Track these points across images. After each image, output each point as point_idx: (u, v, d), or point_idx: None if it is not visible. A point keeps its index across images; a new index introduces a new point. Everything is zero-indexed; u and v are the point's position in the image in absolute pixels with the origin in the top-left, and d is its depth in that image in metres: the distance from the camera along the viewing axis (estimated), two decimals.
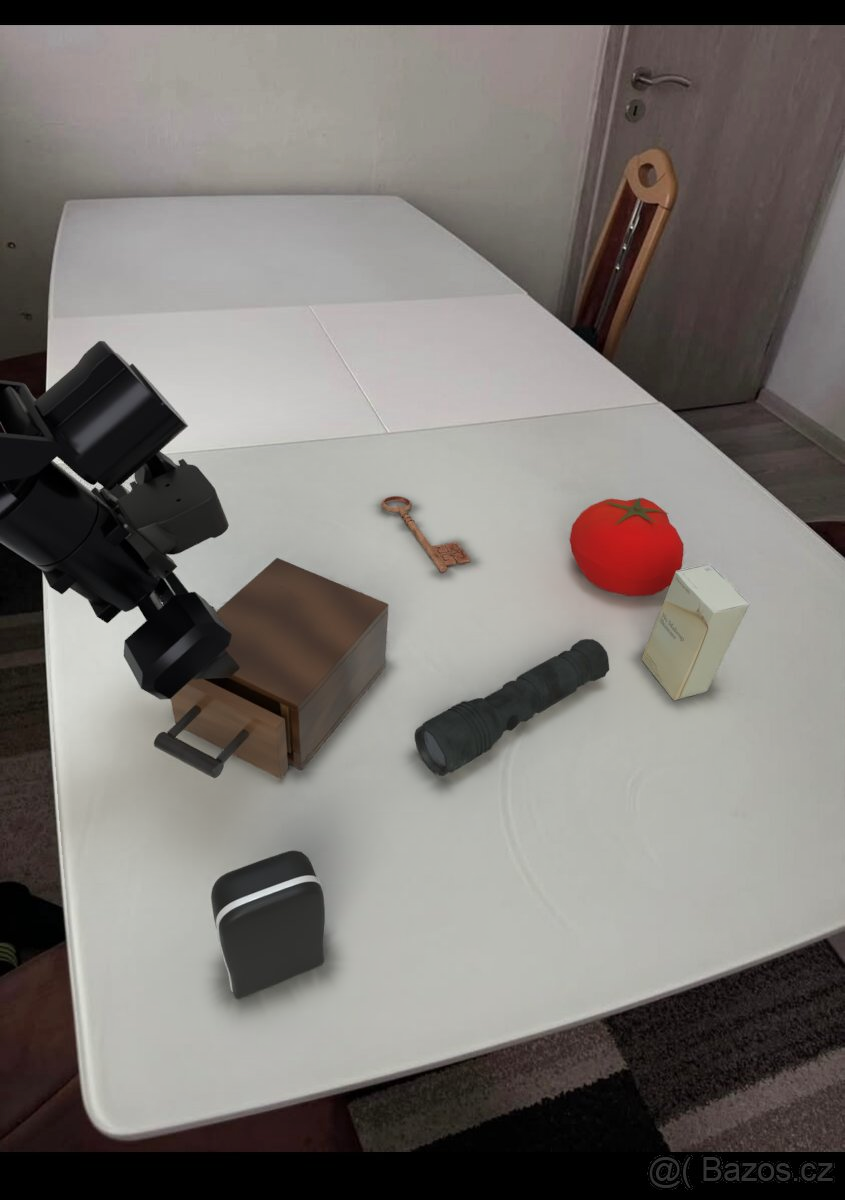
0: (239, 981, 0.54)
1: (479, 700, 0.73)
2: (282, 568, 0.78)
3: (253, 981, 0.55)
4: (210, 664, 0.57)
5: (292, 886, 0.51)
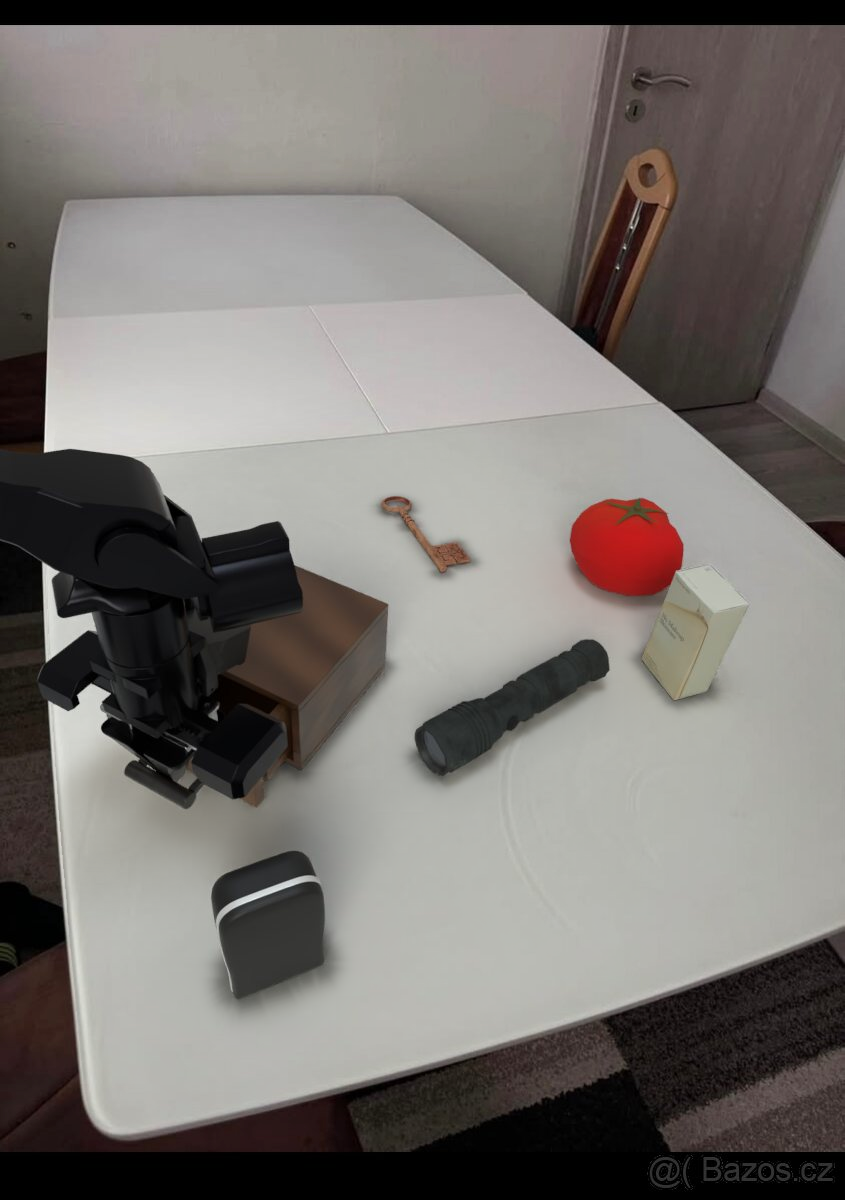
0: (239, 981, 0.54)
1: (479, 700, 0.73)
2: None
3: (253, 981, 0.55)
4: None
5: (292, 886, 0.51)
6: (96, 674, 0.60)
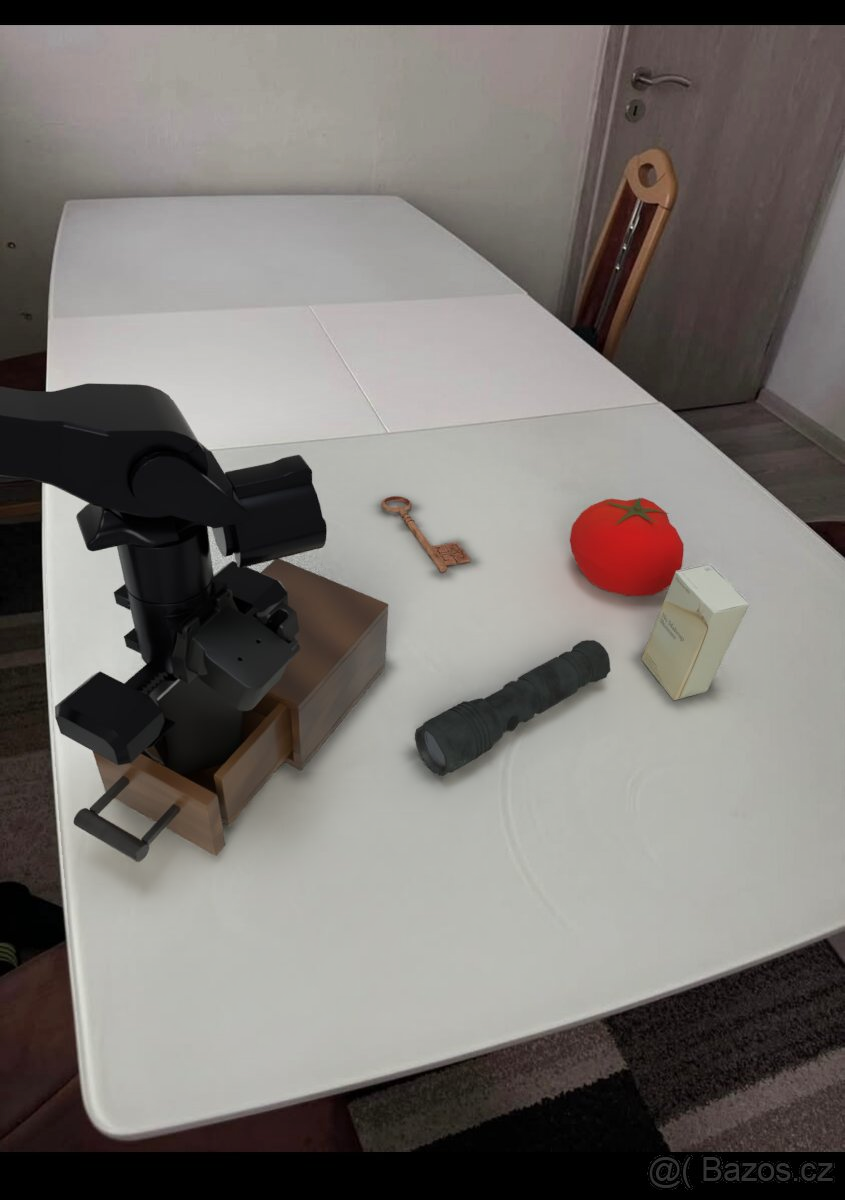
0: None
1: (479, 700, 0.73)
2: (282, 568, 0.78)
3: (179, 761, 0.64)
4: None
5: None
6: None
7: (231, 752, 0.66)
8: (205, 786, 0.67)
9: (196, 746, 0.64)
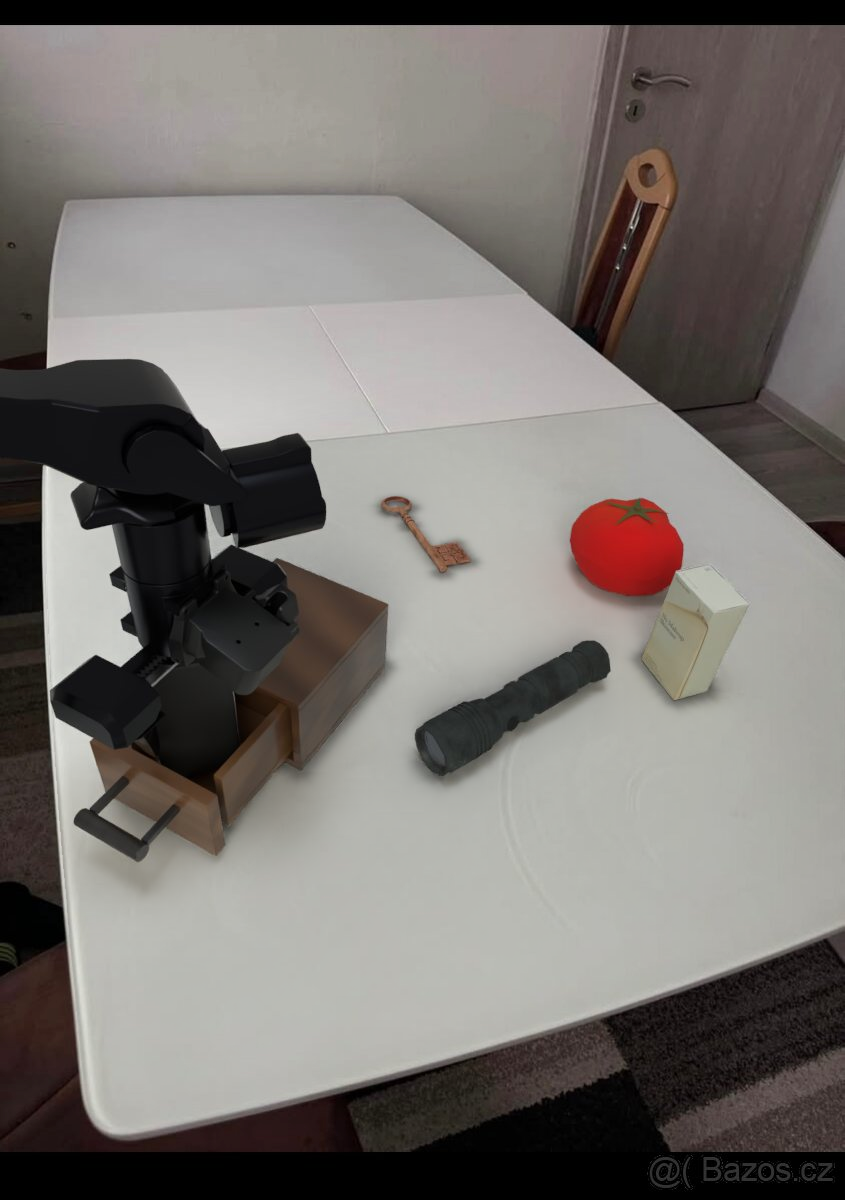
0: (164, 759, 0.64)
1: (480, 700, 0.73)
2: (282, 568, 0.78)
3: (177, 763, 0.65)
4: None
5: None
6: None
7: (229, 754, 0.67)
8: (205, 786, 0.67)
9: (192, 747, 0.65)
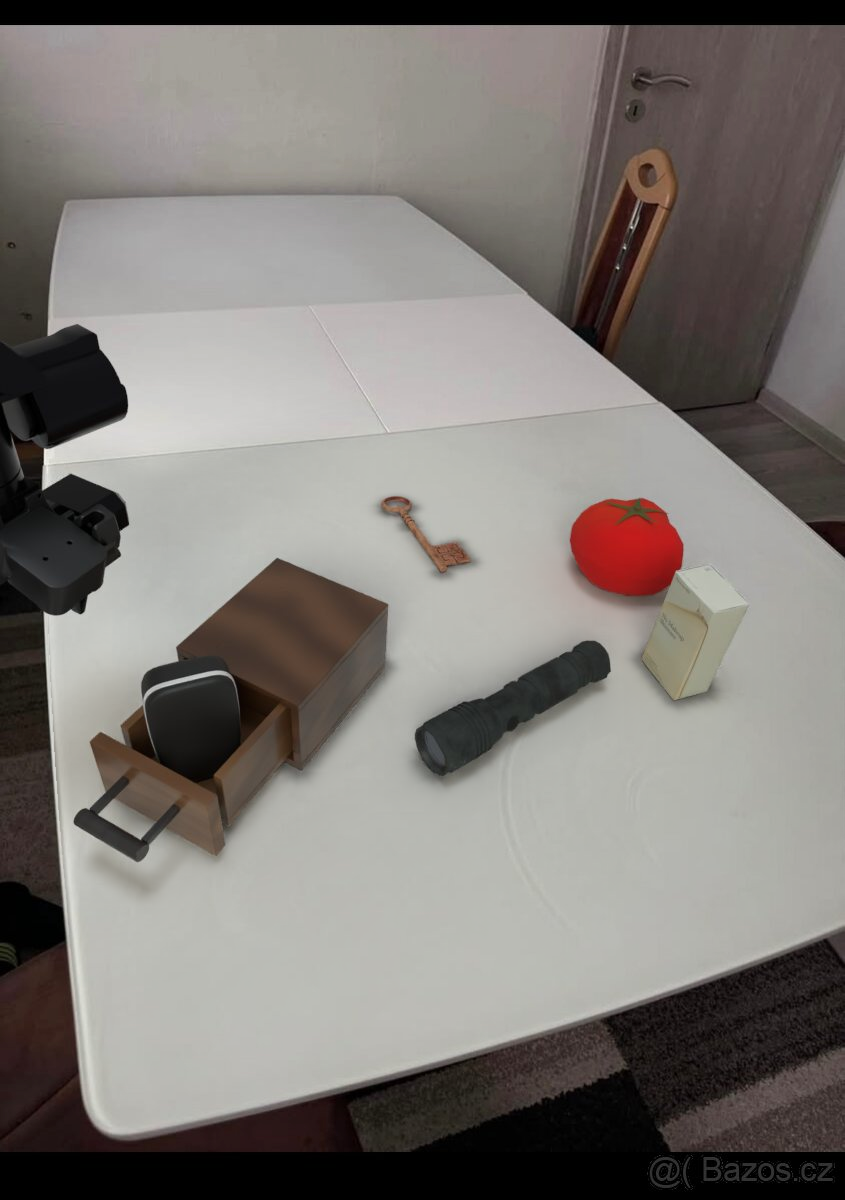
0: None
1: (480, 700, 0.73)
2: (282, 568, 0.78)
3: (179, 771, 0.65)
4: None
5: (207, 677, 0.61)
6: (54, 508, 0.60)
7: None
8: (205, 786, 0.67)
9: (195, 756, 0.65)
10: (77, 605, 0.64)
